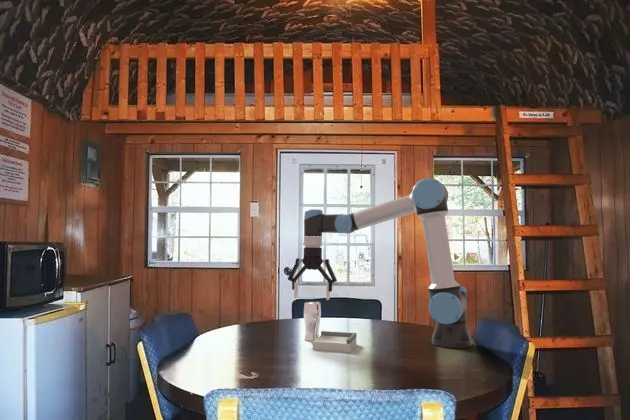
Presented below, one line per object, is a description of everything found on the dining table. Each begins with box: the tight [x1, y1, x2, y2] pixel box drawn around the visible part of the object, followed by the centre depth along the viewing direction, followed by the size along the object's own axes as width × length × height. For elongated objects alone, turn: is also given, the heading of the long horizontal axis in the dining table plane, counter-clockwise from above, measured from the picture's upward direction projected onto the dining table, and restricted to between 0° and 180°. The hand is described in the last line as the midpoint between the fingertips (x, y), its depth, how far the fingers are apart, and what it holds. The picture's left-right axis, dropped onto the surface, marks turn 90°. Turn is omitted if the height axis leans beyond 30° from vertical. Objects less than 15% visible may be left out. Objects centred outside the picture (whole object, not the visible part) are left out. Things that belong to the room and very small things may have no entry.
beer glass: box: [303, 301, 322, 342], centre depth 211 cm, size 7×7×15 cm
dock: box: [312, 330, 357, 353], centre depth 197 cm, size 14×14×4 cm
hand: (311, 298), depth 212 cm, fingers open, 13 cm apart
